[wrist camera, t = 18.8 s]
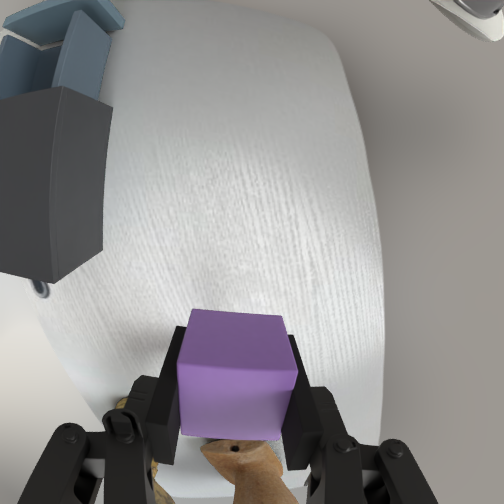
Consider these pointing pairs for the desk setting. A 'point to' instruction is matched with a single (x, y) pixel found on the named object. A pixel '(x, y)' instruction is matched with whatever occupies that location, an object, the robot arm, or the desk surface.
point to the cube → (234, 375)
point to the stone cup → (250, 471)
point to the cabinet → (51, 181)
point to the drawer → (62, 57)
